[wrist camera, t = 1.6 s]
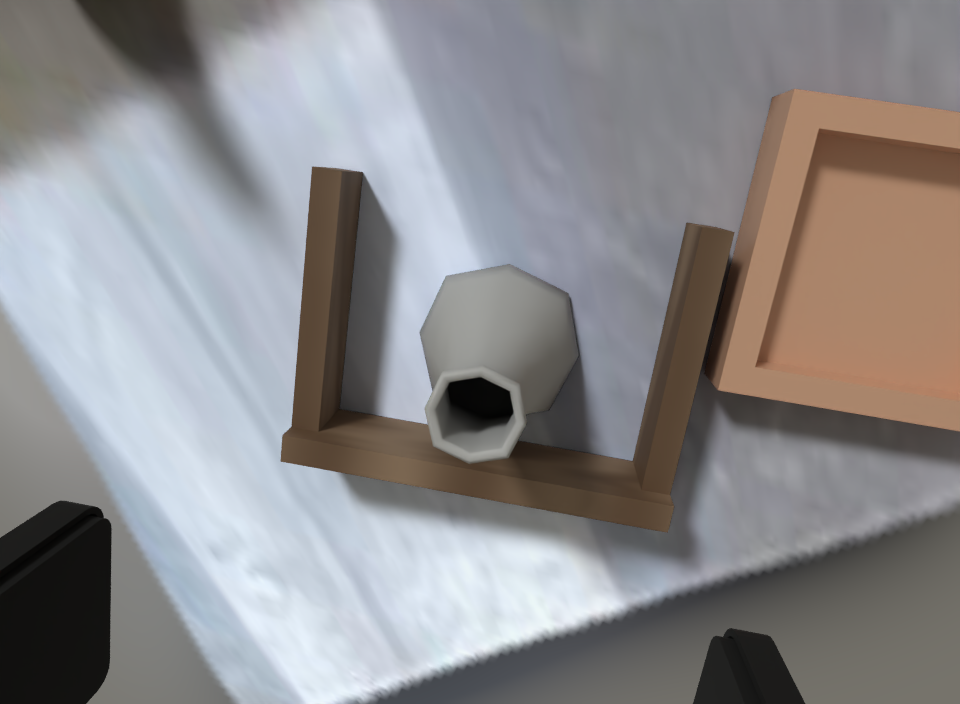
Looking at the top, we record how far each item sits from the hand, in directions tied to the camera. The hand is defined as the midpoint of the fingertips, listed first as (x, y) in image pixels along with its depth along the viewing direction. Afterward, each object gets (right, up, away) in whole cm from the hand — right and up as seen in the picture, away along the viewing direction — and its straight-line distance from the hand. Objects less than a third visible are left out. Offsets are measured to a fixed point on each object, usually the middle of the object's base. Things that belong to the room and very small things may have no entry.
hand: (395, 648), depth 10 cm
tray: (+18, +8, +18) cm, 26 cm away
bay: (+2, +5, +20) cm, 21 cm away
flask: (+2, +5, +20) cm, 21 cm away
